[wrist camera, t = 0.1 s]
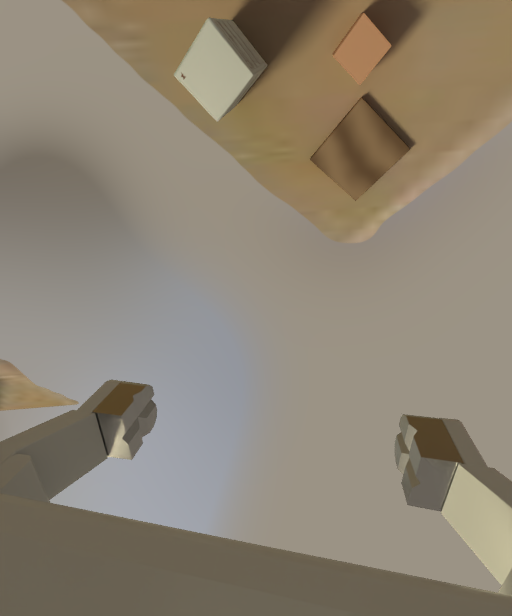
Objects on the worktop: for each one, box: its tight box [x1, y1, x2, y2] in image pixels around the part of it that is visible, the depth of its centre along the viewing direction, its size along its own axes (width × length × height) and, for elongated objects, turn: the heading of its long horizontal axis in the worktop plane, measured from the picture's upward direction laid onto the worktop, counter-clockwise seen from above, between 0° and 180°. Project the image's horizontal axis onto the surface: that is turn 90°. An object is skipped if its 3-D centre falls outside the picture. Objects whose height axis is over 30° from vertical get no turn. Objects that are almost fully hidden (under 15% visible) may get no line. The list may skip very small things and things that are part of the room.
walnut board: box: [310, 97, 410, 201], centre depth 50 cm, size 11×11×1 cm
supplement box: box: [174, 18, 268, 122], centre depth 41 cm, size 7×7×13 cm
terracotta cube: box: [333, 13, 392, 85], centre depth 41 cm, size 5×5×5 cm
